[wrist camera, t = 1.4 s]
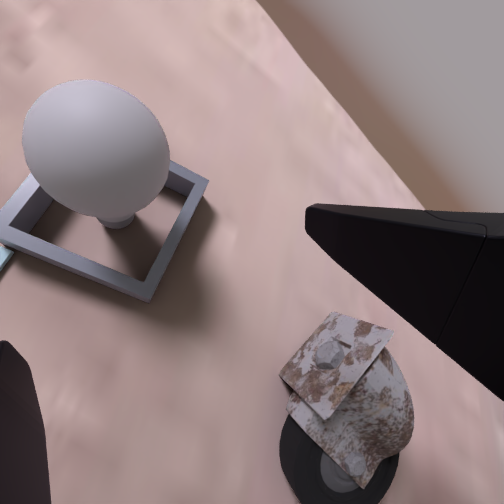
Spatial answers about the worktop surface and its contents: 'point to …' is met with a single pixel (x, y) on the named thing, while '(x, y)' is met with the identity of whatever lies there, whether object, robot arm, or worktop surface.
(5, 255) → the coaster
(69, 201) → the lightbulb
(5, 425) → the robot arm
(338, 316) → the caster wheel
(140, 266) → the worktop surface
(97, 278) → the grey square frame
